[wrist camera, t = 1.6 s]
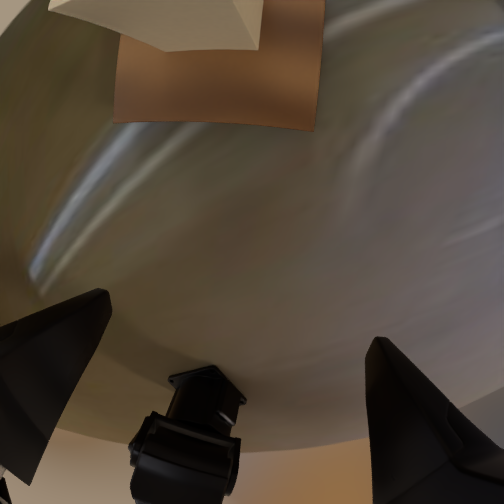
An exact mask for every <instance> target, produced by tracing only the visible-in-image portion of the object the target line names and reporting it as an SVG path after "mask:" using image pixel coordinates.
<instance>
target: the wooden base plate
mask: <svg viewBox="0 0 504 504" xmlns="http://www.w3.org/2000/svg"><path fill="white" fill-rule="evenodd" d="M324 14H325V0H263V10H262V19H261V29H260V38H259V48H258V50H232V49H213V50H187V51H172V52H165V51H162V50H160V49H158V48H156V47H153V46H151V45H149V44H147V43H144V42H142V41H139V40H137V39H135V38H132V37H130V36H127V35H124V34H122V33H121V37H120V44H119V52H118V60H117V70H116V80H115V94H114V112H113V123H128V122H156V121H190V122H219V123H236V124H249V125H261V126H271V127H280V128H288V129H296V130H303V131H310V132H314V125H315V116H316V107H317V98H318V88H319V78H320V67H321V55H322V43H323V29H324Z"/></svg>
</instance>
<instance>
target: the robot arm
mask: <svg viewBox="0 0 504 504" xmlns="http://www.w3.org/2000/svg"><path fill="white" fill-rule="evenodd" d="M111 315H112V305H111V300H110V295H109V292H108V291H107V290H104V289H100V288H96V289H94V290H91V291H89V292H86V293H84V294H81V295H79V296H76V297H74V298H71V299H68V300H66V301H63V302H61V303H58V304H56V305H53V306H51V307H48V308H46V309H43V310H41V311H39V312H36V313H34V314H31V315H29V316H26V317H24V318H21V319H19V320H18V321H17V320H16V321H14V322H12V323H9V324H7V325H4V326H2V327H0V504H12V503H11V499H10V496H9V492H8V489H7V485H6V481H5V478H4V477H2V476H3V474H4V472H5V471H6V469H7V470H9V471H10V472H11V473H12V474H14V475H15V476H16V477H18V478H19V479H20V480H21V481H23V482H24V483H26V484H27V485H28V486H30V484H31V482H32V480H33V477H34V475H35V472H36V470H37V467H38V465H39V463H40V460H41V458H42V455H43V453H44V451H45V449H46V447H47V444H48V442H49V441H48V440H50V437H51V435H52V433H53V431H54V429H55V427H56V425H57V422H58V420H59V418H60V416H61V414H62V412H63V410H64V408H65V406H66V404H67V402H68V400H69V398H70V396H71V394H72V393H73V391H74V389H75V387H76V385H77V383H78V381H79V379H80V378H81V376H82V374H83V372H84V370H85V368H86V367H87V365H88V363H89V361H90V359H91V358H92V356H93V354H94V352H95V350H96V348H97V346H98V344H99V342H100V340H101V337H102V335H103V333H104V331H105V329H106V326H107V324H108V322H109V320H110V318H111ZM168 382H169V383H170V384H171V385H172V386H173V387H174V388H175V389H176V391H175V393H174V396H173V398H172V401H171V403H170V406H169V408H168V411H167V413H166V416H163V415H160V414H158V413H157V412H155V411H152V413H151V415H150V416H147V417H145V419H144V422H143V424H142V426H141V428H140V430H139V431H138V433H137V434H136V435H135V437H134V438H133V439H132V441H131V442H130V443H129V446H128V449H129V451H130V453H131V456H130V458H131V460H130V465H131V466H132V467H135V469H134V472H133V475H132V479H131V482H130V490H131V494H132V497H133V499H135V502H136V504H222V501H223V498H224V496H229V495H230V494H231V493H232V490H233V488H234V485H235V483H236V479H237V475H238V469H239V457H240V446H241V438H236V437H235V438H233V437H230V433H231V428H232V426H235V424H236V419H237V414H238V409H239V406H241V405H245V404H246V402H247V399H246V398H245V397H244V396H243V395H242V394H241V393H240V392H239V391H238V390H237V389H236V387H235V386H234V385H233V384H232V383H231V382H230V381H229V380H228V379H227V378H226V377H225V376H224V374H223V373H222V372H221V371H220V370H219V369H218V368H217V367H216V366H213V365H211V366H207V367H203V368H199V369H196V370H192V371H188V372H184V373H179V374H175V375H171V376H169V378H168ZM365 386H366V408H367V417H368V427H369V439H370V452H371V468H372V493H373V504H504V449H502V448H500V447H499V446H498V445H496V444H495V443H494V442H493V441H492V440H491V439H490V438H488V437H487V436H486V435H485V434H484V433H483V432H482V431H481V430H479V429H478V428H477V427H476V426H475V425H474V424H473V423H472V422H471V421H470V420H468V419H467V418H466V417H465V416H464V415H463V414H462V413H461V412H460V411H459V410H458V409H457V408H456V407H455V406H454V404H453V403H452V402H450V401H449V399H448V398H447V397H446V396H445V395H444V394H443V393H442V392H441V391H440V390H439V389H438V388H437V387H436V386H435V385H434V384H433V383H432V382H431V381H430V380H429V379H428V378H427V377H426V376H425V375H424V374H423V373H422V372H421V371H420V370H419V369H418V368H417V367H416V366H415V365H414V364H413V363H412V362H411V361H410V360H409V359H408V358H407V357H406V356H405V355H404V354H403V353H402V352H401V351H400V350H399V349H398V348H397V347H396V346H395V345H394V344H393V343H392V342H391V341H390V340H389V339H388V338H386V337H378V336H377V337H375V338H374V339H373V341H372V343H371V345H370V347H369V350H368V352H367V354H366V357H365Z"/></svg>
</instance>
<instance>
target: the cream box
mask: <svg viewBox="0 0 504 504" xmlns="http://www.w3.org/2000/svg"><path fill="white" fill-rule="evenodd" d="M48 10H49V11H53V12H57V13H61V14H64V15H68V16H71V17H75V18H78V19H81V20H85V21H88V22H91V23H94V24H97V25H100V26H103V27H106V28H108V29H111V30H114V31H117V32H119V33H122V34H124V35H127V36H130V37H132V38H135V39H137V40H139V41H142V42H144V43H147V44H149V45H151V46H153V47H156V48H158V49H160V50H162V51H165V52H172V51H187V50H213V49H232V50H258V48H259V38H260V29H261V19H262V10H263V0H50V4H49V8H48Z"/></svg>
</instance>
